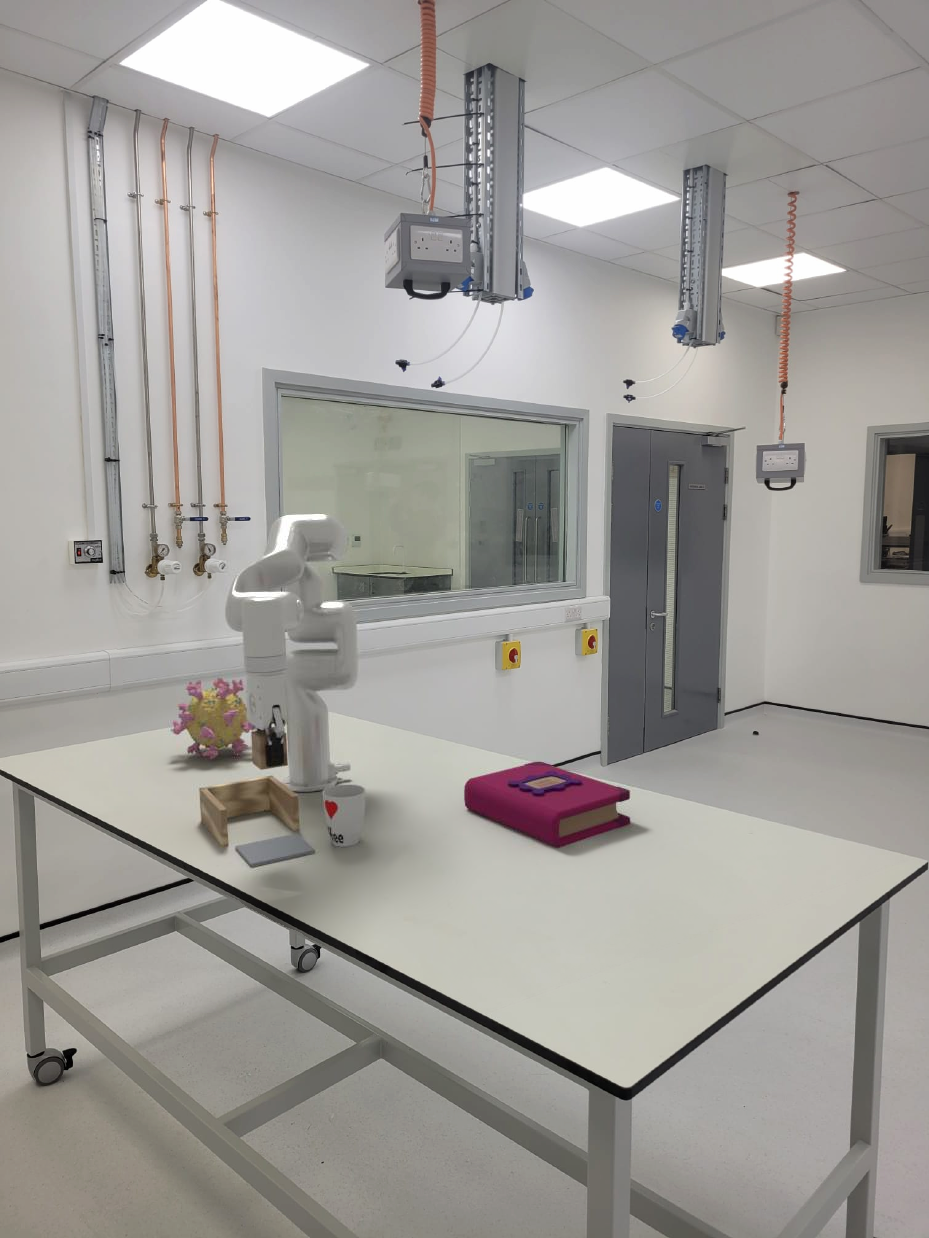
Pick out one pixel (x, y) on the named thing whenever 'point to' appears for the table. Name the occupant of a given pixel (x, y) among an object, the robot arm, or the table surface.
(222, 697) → the educational model
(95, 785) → the table surface
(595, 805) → the book
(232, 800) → the oak u-shaped frame
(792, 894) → the table surface
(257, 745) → the block
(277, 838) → the mat
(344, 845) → the cup
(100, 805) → the table surface
